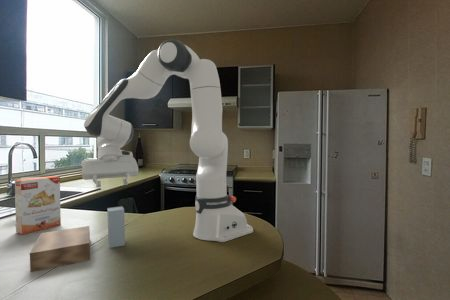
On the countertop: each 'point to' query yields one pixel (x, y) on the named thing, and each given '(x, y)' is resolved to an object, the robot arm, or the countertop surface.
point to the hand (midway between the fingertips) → (112, 185)
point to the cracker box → (37, 203)
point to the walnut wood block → (60, 248)
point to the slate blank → (116, 227)
